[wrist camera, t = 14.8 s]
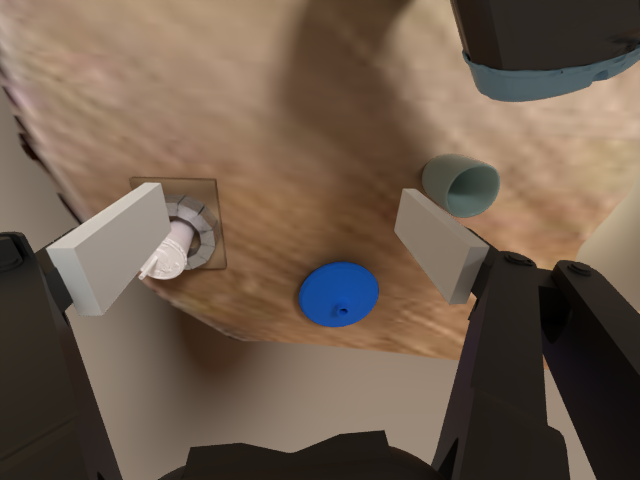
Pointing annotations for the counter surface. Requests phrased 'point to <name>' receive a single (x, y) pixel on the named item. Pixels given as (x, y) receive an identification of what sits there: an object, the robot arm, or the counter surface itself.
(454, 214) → the cup
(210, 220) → the ring
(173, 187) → the board
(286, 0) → the counter surface
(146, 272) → the smoothie
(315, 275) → the blue funnel
